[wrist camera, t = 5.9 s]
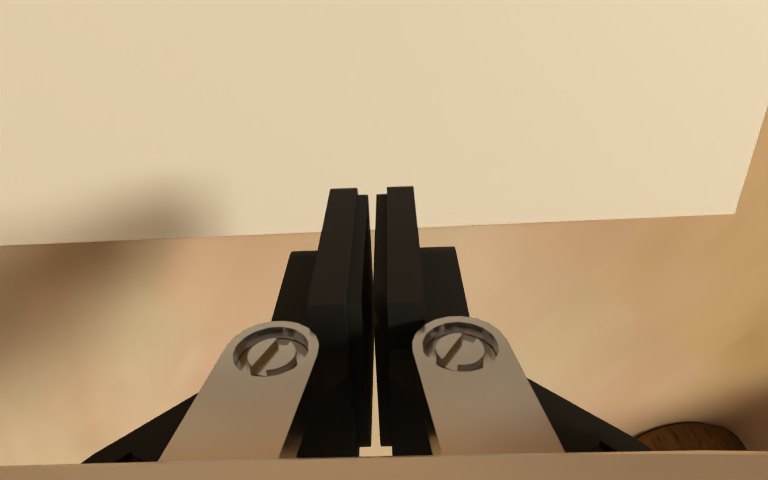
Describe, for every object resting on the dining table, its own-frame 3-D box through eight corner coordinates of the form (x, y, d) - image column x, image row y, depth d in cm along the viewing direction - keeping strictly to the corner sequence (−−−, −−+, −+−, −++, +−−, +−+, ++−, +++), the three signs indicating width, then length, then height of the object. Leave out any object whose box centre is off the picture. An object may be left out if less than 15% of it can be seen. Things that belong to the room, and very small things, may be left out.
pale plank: (708, 192, 20) (734, 213, 18) (7, 222, 20) (-21, 246, 18) (789, -100, 15) (831, -101, 14) (-112, -62, 15) (-161, -60, 14)
